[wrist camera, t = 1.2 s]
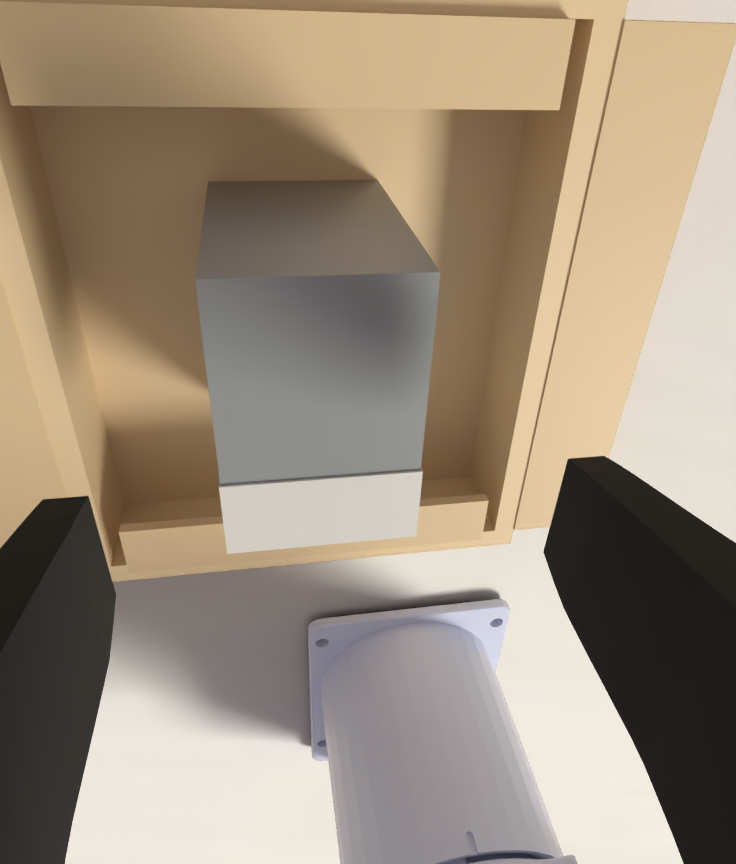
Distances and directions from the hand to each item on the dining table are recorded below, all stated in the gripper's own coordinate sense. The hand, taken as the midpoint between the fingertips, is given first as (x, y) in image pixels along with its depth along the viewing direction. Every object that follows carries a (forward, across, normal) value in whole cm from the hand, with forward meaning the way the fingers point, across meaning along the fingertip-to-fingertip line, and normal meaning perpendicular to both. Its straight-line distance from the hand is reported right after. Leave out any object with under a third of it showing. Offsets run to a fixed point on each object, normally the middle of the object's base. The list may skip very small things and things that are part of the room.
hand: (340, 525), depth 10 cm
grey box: (+9, 0, 0) cm, 9 cm away
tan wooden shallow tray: (+9, 0, 0) cm, 9 cm away
